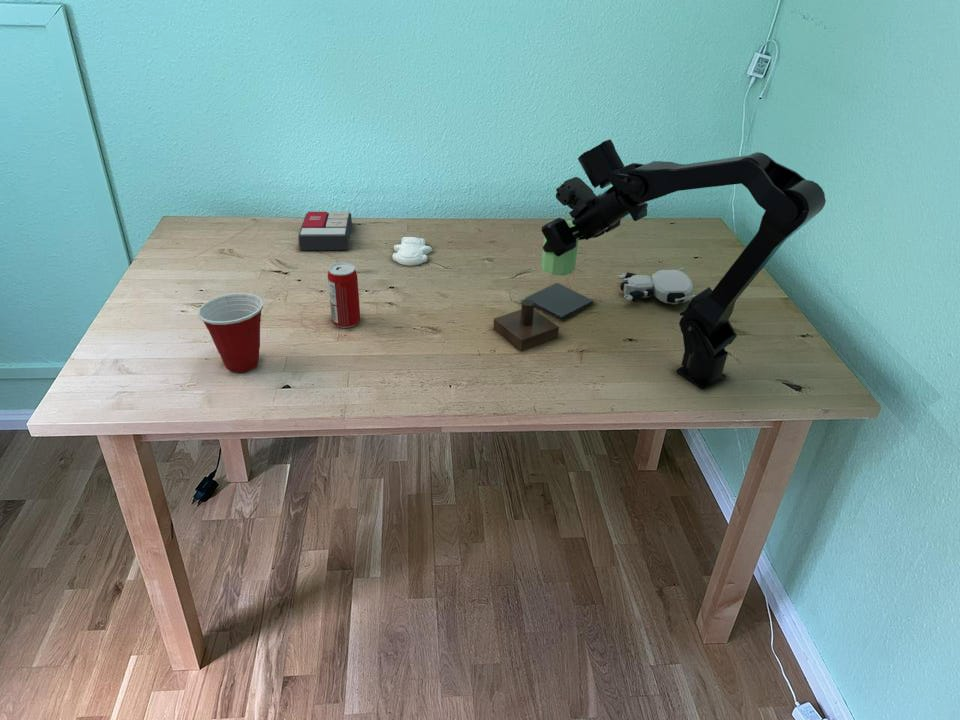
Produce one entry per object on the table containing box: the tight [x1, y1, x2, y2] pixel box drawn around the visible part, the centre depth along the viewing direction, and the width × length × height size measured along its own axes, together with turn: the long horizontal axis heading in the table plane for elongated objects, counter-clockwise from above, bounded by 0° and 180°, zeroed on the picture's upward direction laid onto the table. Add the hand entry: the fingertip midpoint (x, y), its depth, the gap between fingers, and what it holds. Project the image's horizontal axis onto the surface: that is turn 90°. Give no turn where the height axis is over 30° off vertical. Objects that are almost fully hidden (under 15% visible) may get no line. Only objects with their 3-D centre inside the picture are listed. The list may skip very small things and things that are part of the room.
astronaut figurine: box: [391, 236, 433, 267], centre depth 163 cm, size 9×12×3 cm
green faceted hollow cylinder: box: [541, 219, 579, 276], centre depth 139 cm, size 6×7×9 cm
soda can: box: [327, 261, 361, 329], centre depth 136 cm, size 6×6×12 cm
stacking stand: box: [492, 298, 560, 352], centre depth 136 cm, size 9×9×7 cm
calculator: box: [297, 211, 353, 251], centre depth 169 cm, size 11×4×15 cm
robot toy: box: [617, 267, 696, 305], centre depth 150 cm, size 12×4×15 cm
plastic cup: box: [197, 292, 264, 374], centre depth 123 cm, size 11×11×12 cm
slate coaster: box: [525, 282, 594, 322], centre depth 148 cm, size 10×10×1 cm
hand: (555, 244), depth 140 cm, fingers closed on green faceted hollow cylinder, 6 cm apart
